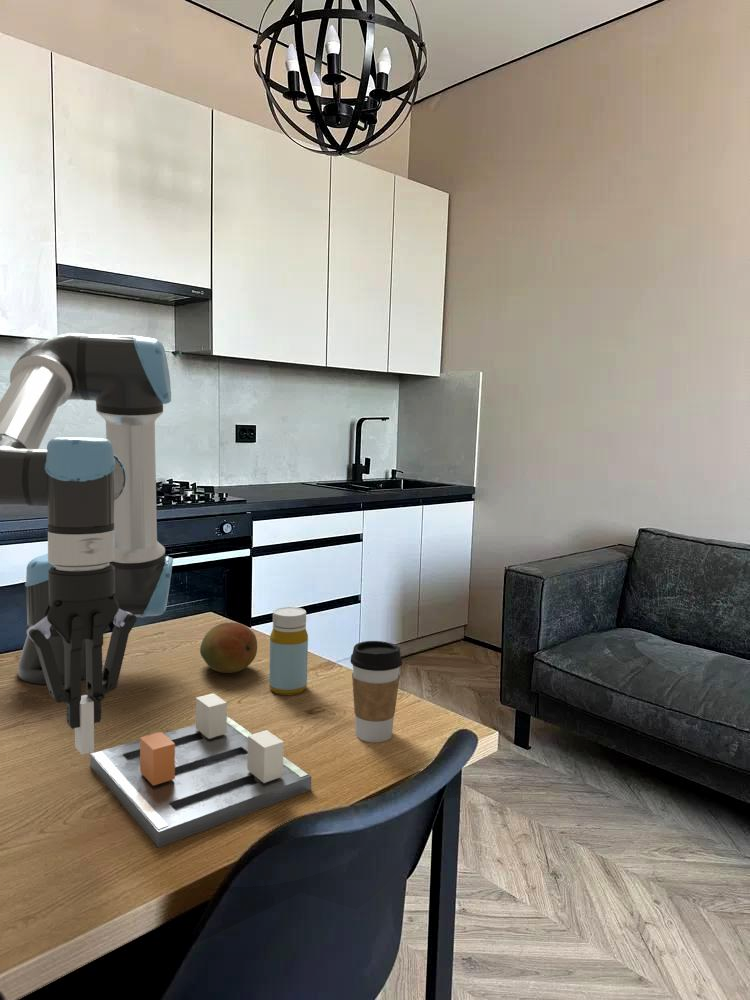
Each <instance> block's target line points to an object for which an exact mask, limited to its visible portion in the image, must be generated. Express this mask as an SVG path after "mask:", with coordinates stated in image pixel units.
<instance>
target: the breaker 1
mask: <svg viewBox="0 0 750 1000" xmlns="http://www.w3.org/2000/svg"><path fill="white" fill-rule="evenodd" d="M227 712H228V703H227V701H226V700H224V699H223V698H221V697H220V696H218V695H217V694H215V693H213V692H212V693H210V694H205V695H202V696H201V695H200V696H197V697H195V725H196V729H197V730H198V731H200V732H201V733H202V736H201V737H202V738H204V739H205V738H208V739H210V738H213V737H216V736H220V735H223V734H227V716H228V713H227Z"/></svg>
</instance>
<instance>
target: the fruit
mask: <svg viewBox="0 0 750 1000" xmlns="http://www.w3.org/2000/svg"><path fill="white" fill-rule="evenodd" d="M199 652H200V656H201V657H202V659H203V660H204V662H205V663H206V665H207V666H208V667H210V668H211V669H212V670H213V671H216V672H219V673H223V674H233V673H238V672H241V671H243V670H245V669H246V668H247V667H249V666H250V665H251V664H252V662H253V661H254V660H255V658H256V657H257V654H258V653H257V652H258V640H257V637H256V635H255V633H254V632H253V630H252V629H251V628H249V627H248V626H246V625H245V624H243V623H240V622H231V621H230V622H224V623H219V624H217V625H216V626H213V627H211V628H210V630H209V631H207V633H206V634H205V635H204V636H203V639H202V641H201V644H200V648H199Z"/></svg>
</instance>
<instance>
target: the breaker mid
mask: <svg viewBox="0 0 750 1000" xmlns="http://www.w3.org/2000/svg"><path fill="white" fill-rule="evenodd" d="M163 733H164V732H163V731H159V732H158V731H157V732H154V733H151V734H148V735H144V736H140V738H139V740H140V772H141V773H142V774H143V775H144V777H145V778H146V779H147V781H148V782H149V783H150V785H151V784H152V785H153V786H154V785H157V784H160V783H163V782H166V781H170V780H173V779H175V743H174V742H172V741H171V740H170V739H169V738H168V737H167V736H166V735H165V734H163Z"/></svg>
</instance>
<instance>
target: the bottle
mask: <svg viewBox="0 0 750 1000" xmlns="http://www.w3.org/2000/svg"><path fill="white" fill-rule="evenodd" d="M306 627H307V611H306V610H305V609H304V608H301V607H297V606H296V607H295V606H284V607H283V606H282V607H278V608H276V609H274V610H273V611H272V631H271V633H270V634H269V635H270V636H269V637H270V639H269V676H268V677H269V678H268V680H269V682H268V683H269V685H268V686H269V688H270V690H271V691H272V692H273V693H275V694H277V695H282V696H293V695H295V696H296V695H298V694H300V693H302V692H304V690H306V689H307V686H308V660H309V659H308V658H309V657H308V655H309V653H308V651H309V650H308V649H309V648H308V647H309V634H308V631H307V628H306Z"/></svg>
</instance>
